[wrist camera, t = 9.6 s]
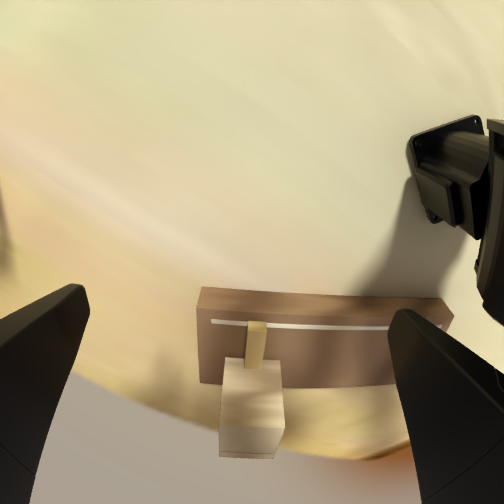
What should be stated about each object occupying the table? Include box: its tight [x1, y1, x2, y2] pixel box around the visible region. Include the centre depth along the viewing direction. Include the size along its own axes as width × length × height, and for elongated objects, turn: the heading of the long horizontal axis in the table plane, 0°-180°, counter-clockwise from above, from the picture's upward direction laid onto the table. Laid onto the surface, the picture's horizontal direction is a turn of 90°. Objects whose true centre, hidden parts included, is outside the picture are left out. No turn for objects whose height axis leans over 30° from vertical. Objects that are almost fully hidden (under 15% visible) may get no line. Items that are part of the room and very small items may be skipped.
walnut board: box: [196, 287, 454, 388], centre depth 23 cm, size 20×8×3 cm, turn 85°
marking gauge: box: [219, 321, 285, 459], centre depth 20 cm, size 4×9×8 cm, turn 175°
